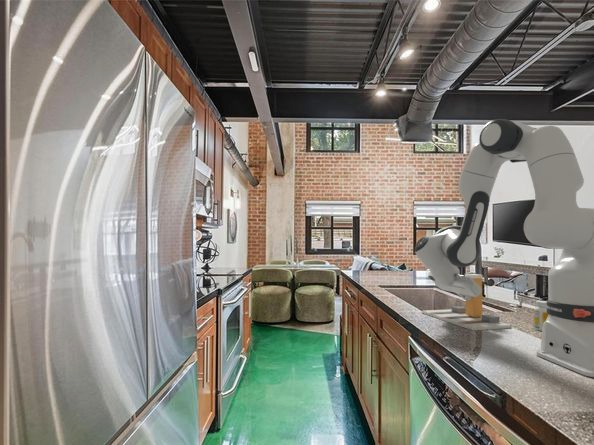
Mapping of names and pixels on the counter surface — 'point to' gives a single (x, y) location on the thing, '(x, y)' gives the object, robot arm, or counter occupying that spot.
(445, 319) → the panel
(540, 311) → the supplement bottle
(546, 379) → the counter surface
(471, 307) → the glass of beer
